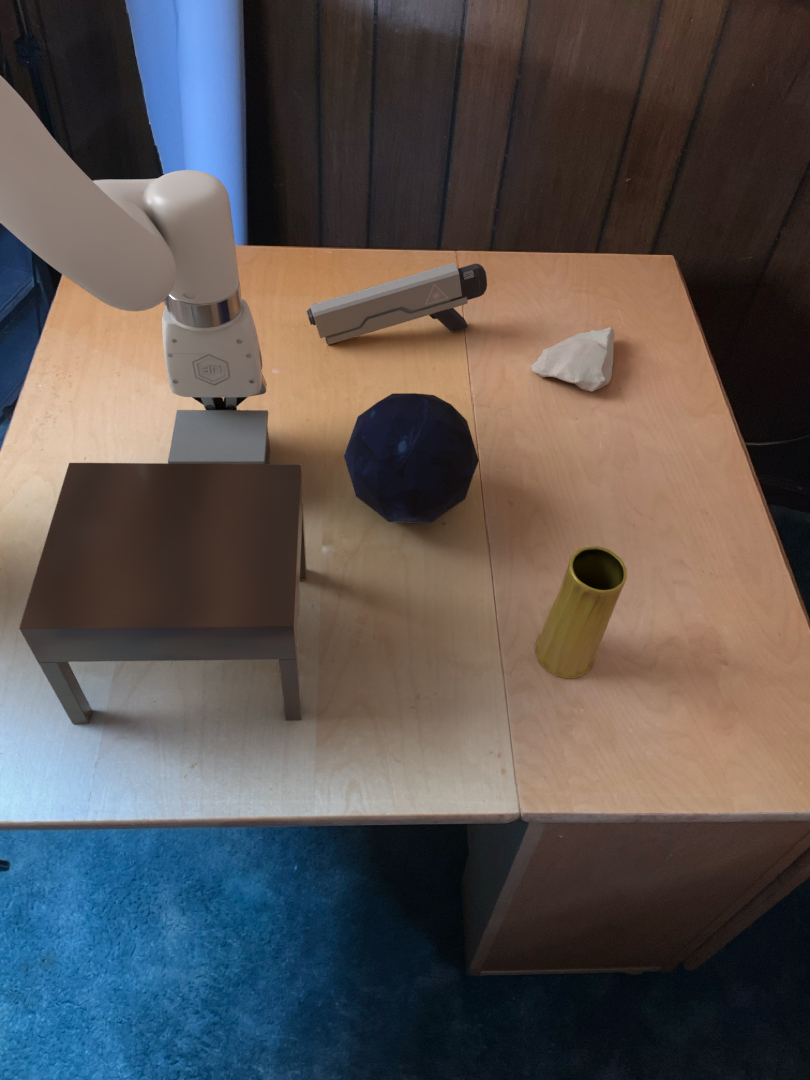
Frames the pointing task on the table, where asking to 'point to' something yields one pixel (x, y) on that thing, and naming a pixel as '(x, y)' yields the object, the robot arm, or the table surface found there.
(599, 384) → the stone
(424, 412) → the decorative orb
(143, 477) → the miniature coffee table
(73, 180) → the robot arm
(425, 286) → the gun
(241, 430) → the storage box
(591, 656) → the vase
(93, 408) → the table surface
